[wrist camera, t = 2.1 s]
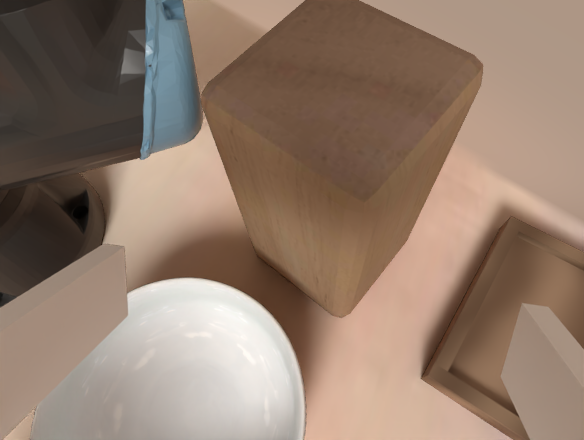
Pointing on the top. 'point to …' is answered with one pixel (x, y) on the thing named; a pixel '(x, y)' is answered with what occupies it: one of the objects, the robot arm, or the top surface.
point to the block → (337, 140)
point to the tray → (506, 319)
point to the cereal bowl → (182, 373)
